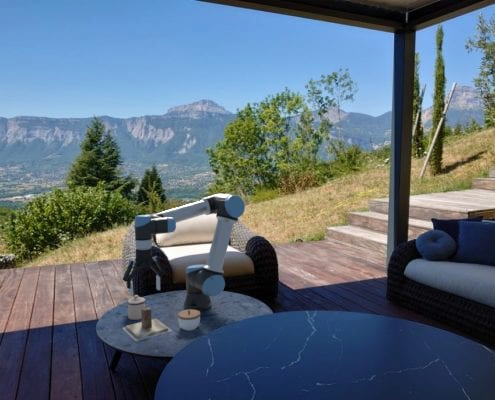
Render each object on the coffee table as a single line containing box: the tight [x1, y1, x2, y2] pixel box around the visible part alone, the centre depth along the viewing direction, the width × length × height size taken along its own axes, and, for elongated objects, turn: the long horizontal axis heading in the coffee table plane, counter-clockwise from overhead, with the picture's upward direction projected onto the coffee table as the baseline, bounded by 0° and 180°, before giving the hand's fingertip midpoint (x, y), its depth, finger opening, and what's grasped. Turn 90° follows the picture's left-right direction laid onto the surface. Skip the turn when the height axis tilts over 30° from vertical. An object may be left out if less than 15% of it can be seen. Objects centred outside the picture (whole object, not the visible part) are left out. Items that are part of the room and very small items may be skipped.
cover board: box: [125, 306, 169, 339], centre depth 195 cm, size 15×15×10 cm
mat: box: [121, 319, 173, 342], centre depth 196 cm, size 18×18×1 cm
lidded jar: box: [177, 309, 201, 332], centre depth 196 cm, size 11×11×9 cm
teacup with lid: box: [126, 294, 146, 321], centre depth 212 cm, size 12×9×12 cm
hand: (145, 292), depth 194 cm, fingers open, 13 cm apart
